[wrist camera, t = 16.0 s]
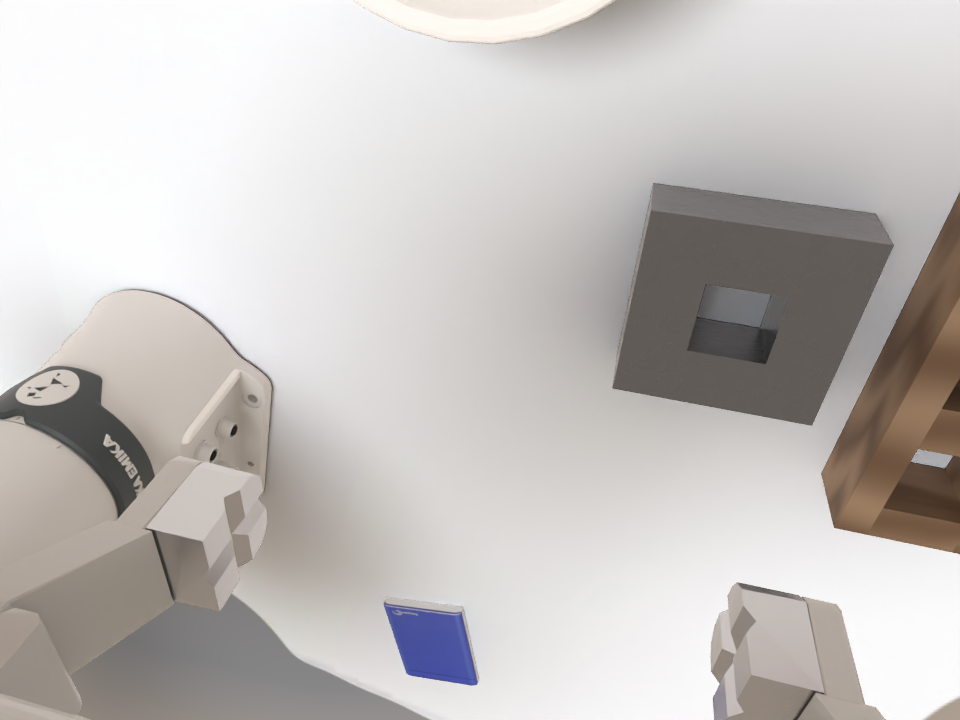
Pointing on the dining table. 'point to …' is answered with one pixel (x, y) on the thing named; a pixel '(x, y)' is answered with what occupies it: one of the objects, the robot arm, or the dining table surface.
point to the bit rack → (908, 418)
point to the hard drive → (432, 640)
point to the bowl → (484, 17)
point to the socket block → (754, 267)
